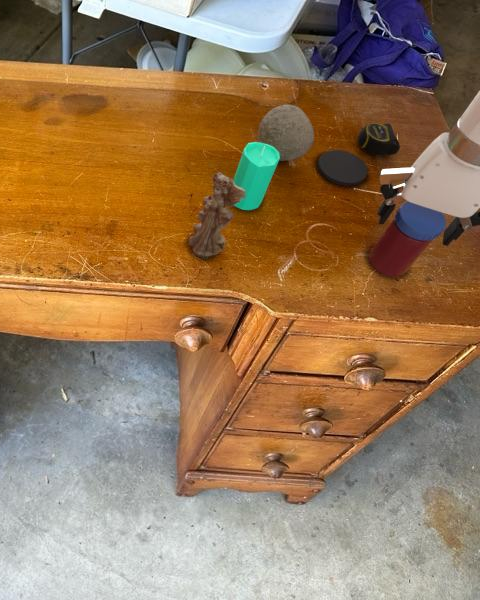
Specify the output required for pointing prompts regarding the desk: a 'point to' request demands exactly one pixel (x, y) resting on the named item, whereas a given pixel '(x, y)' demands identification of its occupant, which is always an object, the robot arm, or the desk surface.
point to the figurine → (215, 216)
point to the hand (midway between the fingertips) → (413, 228)
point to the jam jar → (396, 251)
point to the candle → (255, 173)
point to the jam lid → (420, 221)
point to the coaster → (342, 167)
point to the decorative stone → (287, 131)
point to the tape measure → (378, 139)
